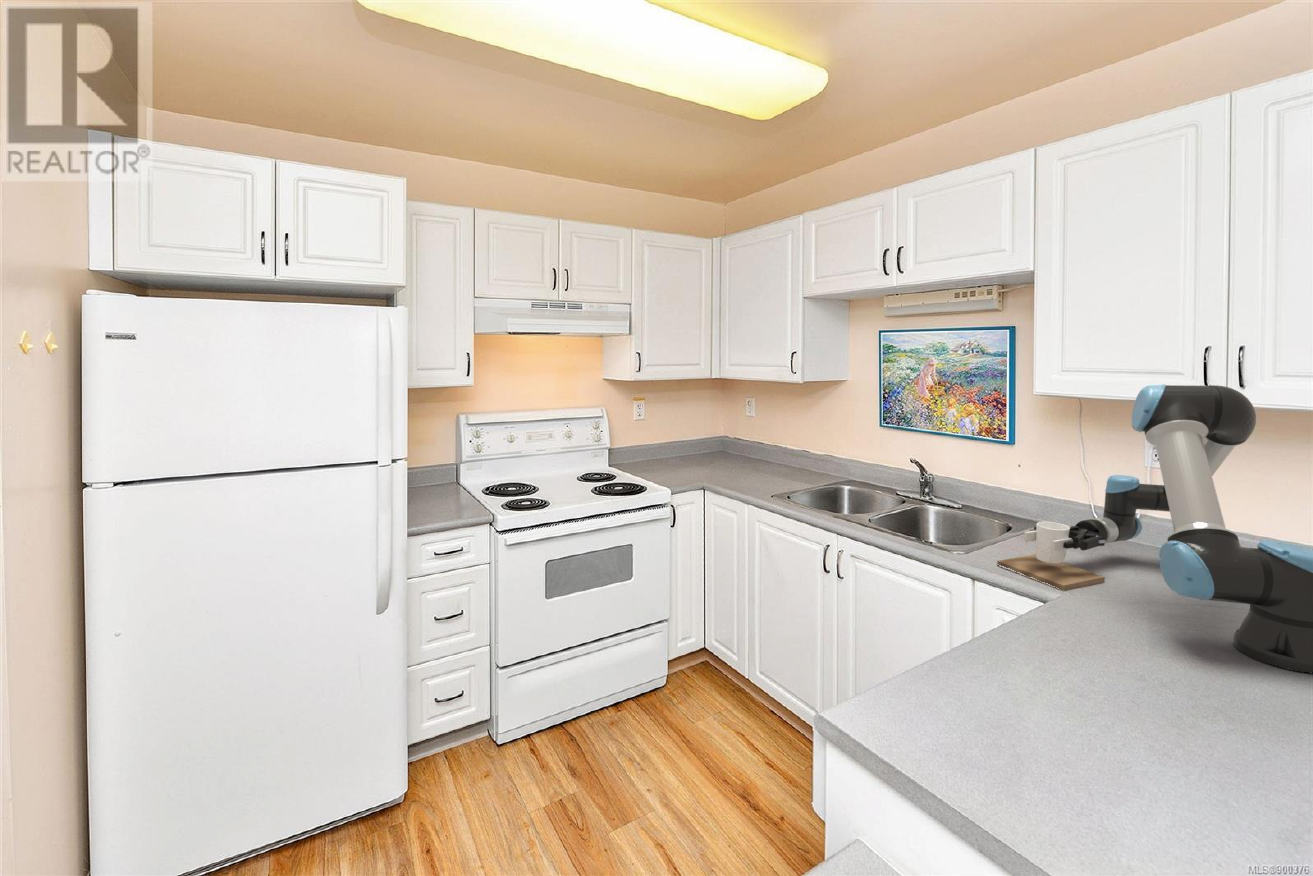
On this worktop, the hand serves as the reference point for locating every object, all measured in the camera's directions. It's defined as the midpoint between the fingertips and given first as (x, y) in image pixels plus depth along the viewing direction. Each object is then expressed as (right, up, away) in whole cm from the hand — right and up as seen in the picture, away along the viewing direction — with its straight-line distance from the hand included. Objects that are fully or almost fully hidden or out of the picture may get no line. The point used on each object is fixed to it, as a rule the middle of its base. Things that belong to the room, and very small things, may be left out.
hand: (1039, 541), depth 168 cm
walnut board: (+5, -10, +3) cm, 11 cm away
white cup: (+5, -6, +3) cm, 8 cm away
